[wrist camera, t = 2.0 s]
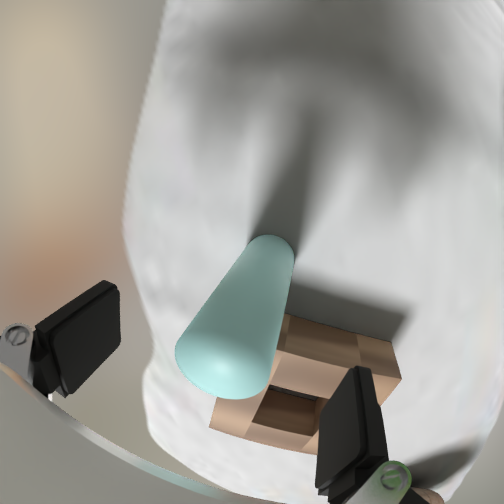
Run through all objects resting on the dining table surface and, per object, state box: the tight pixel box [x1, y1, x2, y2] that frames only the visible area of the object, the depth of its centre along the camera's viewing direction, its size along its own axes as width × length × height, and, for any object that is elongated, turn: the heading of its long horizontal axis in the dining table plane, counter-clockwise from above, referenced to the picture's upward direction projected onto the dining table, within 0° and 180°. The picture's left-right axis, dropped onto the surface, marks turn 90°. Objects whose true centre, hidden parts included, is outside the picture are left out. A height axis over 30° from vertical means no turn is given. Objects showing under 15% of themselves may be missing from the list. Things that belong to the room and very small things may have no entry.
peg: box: [175, 234, 294, 399], centre depth 13 cm, size 3×3×10 cm
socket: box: [209, 313, 402, 455], centre depth 18 cm, size 11×11×4 cm
